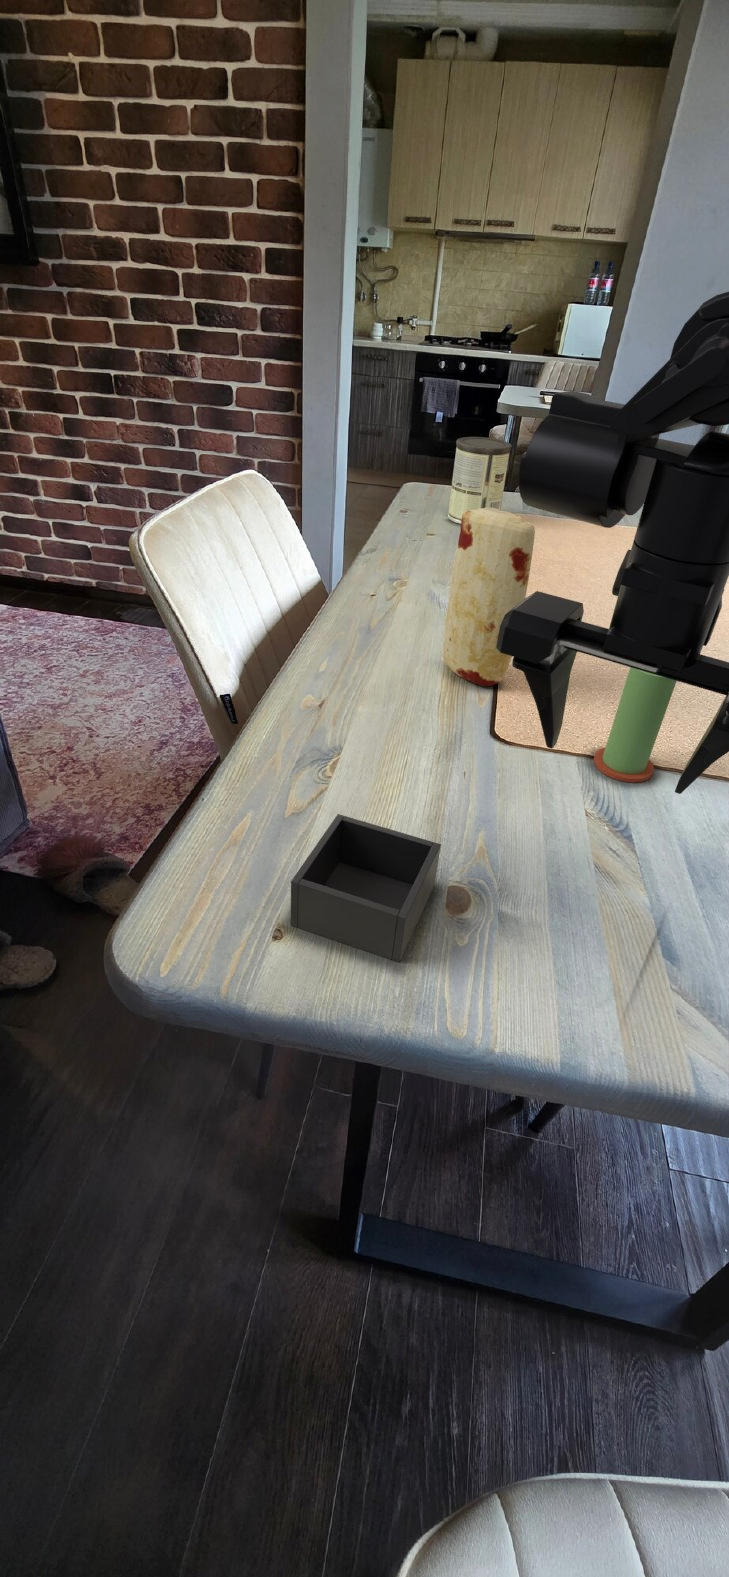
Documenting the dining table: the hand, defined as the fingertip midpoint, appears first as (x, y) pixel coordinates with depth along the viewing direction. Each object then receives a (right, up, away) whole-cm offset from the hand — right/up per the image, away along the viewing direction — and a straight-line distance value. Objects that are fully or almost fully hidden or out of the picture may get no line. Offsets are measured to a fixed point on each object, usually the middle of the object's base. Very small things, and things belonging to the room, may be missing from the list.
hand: (612, 767), depth 52 cm
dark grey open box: (-18, -11, +5) cm, 21 cm away
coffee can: (+4, +52, +94) cm, 107 cm away
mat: (+9, +1, +24) cm, 26 cm away
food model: (-4, +12, +39) cm, 41 cm away
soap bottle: (+9, +1, +24) cm, 26 cm away
